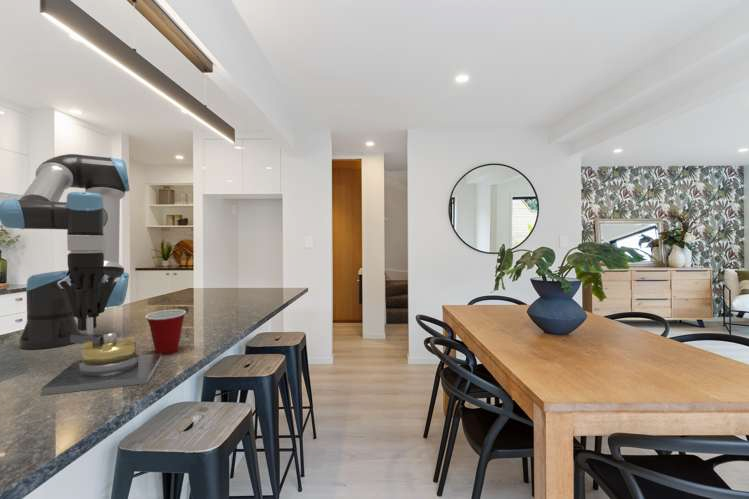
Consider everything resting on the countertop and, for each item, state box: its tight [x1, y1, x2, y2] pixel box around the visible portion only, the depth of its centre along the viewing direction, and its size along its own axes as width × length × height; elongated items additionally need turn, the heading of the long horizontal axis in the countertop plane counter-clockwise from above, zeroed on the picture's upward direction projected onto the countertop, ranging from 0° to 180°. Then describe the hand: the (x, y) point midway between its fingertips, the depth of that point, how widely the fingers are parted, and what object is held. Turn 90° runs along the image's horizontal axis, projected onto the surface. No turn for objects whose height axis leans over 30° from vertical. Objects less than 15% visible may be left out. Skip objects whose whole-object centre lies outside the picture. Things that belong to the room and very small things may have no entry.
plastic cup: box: [144, 308, 187, 355], centre depth 113 cm, size 11×11×12 cm
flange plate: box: [40, 352, 163, 396], centre depth 93 cm, size 20×20×4 cm
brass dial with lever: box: [70, 331, 137, 364], centre depth 94 cm, size 18×11×6 cm, turn 74°
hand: (87, 341), depth 98 cm, fingers closed
